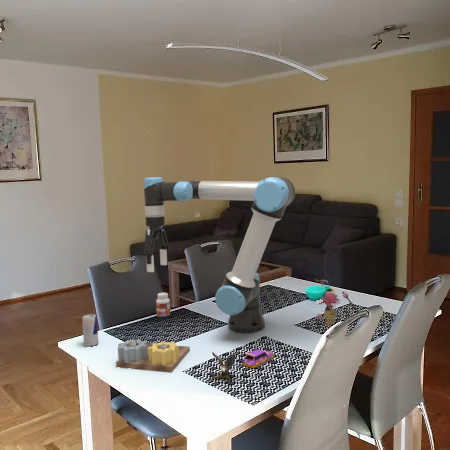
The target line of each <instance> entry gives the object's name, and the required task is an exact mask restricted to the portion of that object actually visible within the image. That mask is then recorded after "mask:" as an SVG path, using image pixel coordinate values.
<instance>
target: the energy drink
mask: <svg viewBox="0 0 450 450" xmlns="http://www.w3.org/2000/svg"><path fill="white" fill-rule="evenodd" d="M81 322H82V337H83V347H84V346H85V347H84V348H86V347H92V348H94V347H93V346H96V347H98V346H99V344H100V343H99V330H98V329H99V328H98V327H99V326H98V317H97V315H96V314H93V313H91V314H85V315H83V316H82V318H81ZM97 345H98V346H97Z"/></svg>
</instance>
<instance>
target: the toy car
mask: <svg viewBox="0 0 450 450" xmlns="http://www.w3.org/2000/svg"><path fill="white" fill-rule="evenodd" d="M244 355H245V356H244V358H243V360H242V362H241V363H242V364H241V365H242V366H244V367H248V368H251V369H254V368H259V366H261V365H264V364H265V363H268V362H270V361H271V360H272V359H274V357H275V356H274V353H273V352H271V351H268V350H261V349H254V350H252V351H250V352H248V351H247V352H245V353H244Z"/></svg>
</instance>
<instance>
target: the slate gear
mask: <svg viewBox="0 0 450 450" xmlns="http://www.w3.org/2000/svg"><path fill="white" fill-rule="evenodd" d="M130 342H136V346H135V347H129V343H130ZM147 344H148V342H147V340H144V341H142V340H141V339H139V338H138V339H134V340H133V339H132V340H131V339H127V340H126V341H125V342H120V343H118V346H117V359H118V360H119V361H121V360H123V361H125V363H129V362H134V361H136V362H140V360H141V359H146V358H147V354H148V352H147ZM118 360H117V361H118Z"/></svg>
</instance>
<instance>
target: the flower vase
mask: <svg viewBox="0 0 450 450" xmlns="http://www.w3.org/2000/svg"><path fill="white" fill-rule="evenodd" d="M341 292H342V297H343V298H344V299H346V300H348V302H349V303H350V305H351V306H352V307H353V308H354V309H357V307H356V305H354V303H353V302H352V301H351V300H350V299H349V294H348V292H344V291H341ZM322 300H323V301H324V302H325V303H324V304H325V305H326V307H325V308H324V314H323V315H322V314H321V313H318V314H317V315H316V317H317V318H318V319H322V318H324V319H325V323H324V324H325V325H326V326H333V325H335V324H336V323H335V322H336V321H335V320H336V319H337V318H338V316H337V315H336V314H337V313H336V310H335V308H336V305H339V304H340V303H341V299H340V298H338V297H336V296H335V295H334V294H333V293H327V294H326V295H325V296H324V298H322ZM332 324H333V325H332Z"/></svg>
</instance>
